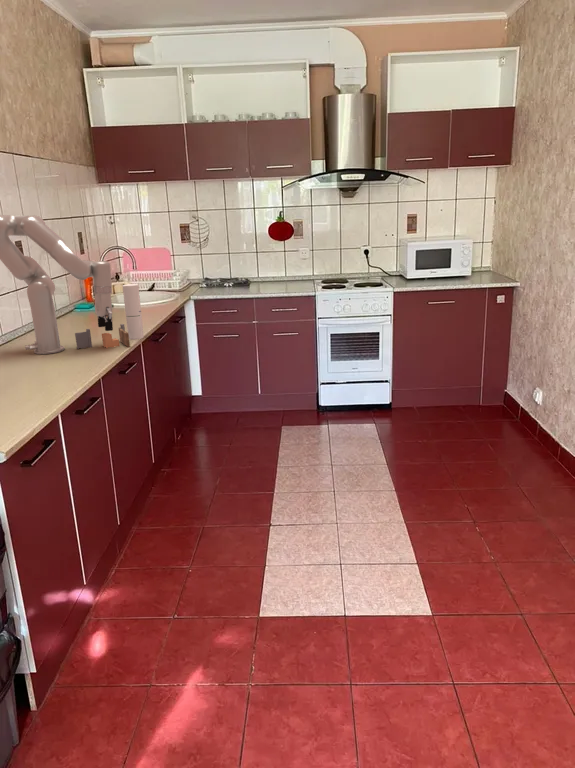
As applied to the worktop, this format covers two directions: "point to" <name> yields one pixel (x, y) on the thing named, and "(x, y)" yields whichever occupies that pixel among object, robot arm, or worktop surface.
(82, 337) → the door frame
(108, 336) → the orange l-shaped block
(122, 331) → the door
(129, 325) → the cylindrical container
